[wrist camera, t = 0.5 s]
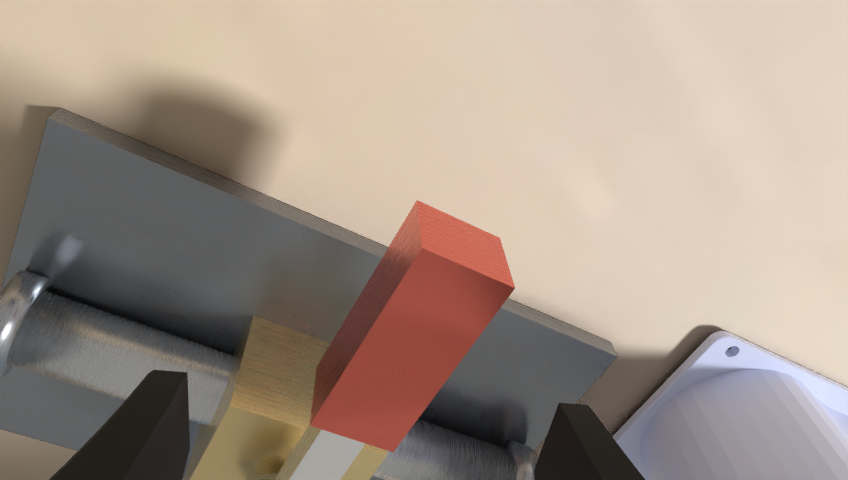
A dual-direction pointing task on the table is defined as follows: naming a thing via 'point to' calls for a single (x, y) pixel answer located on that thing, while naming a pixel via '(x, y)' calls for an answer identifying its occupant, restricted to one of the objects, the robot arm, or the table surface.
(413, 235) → the lever
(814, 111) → the table surface
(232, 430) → the grey machine base
